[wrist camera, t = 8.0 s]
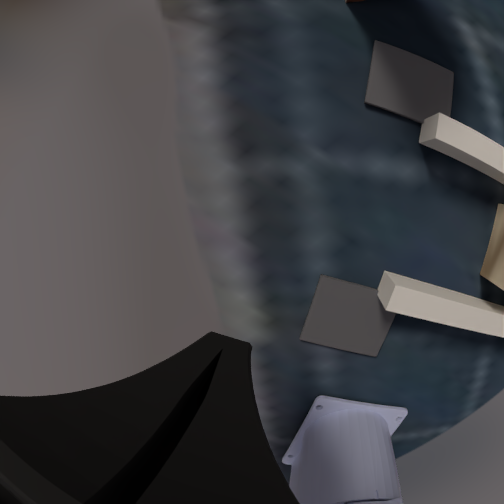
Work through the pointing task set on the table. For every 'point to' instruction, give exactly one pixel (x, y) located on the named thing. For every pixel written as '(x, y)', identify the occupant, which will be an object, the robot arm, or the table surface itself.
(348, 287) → the plate
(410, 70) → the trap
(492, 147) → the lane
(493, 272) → the birch block
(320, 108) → the table surface
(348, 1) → the food container
